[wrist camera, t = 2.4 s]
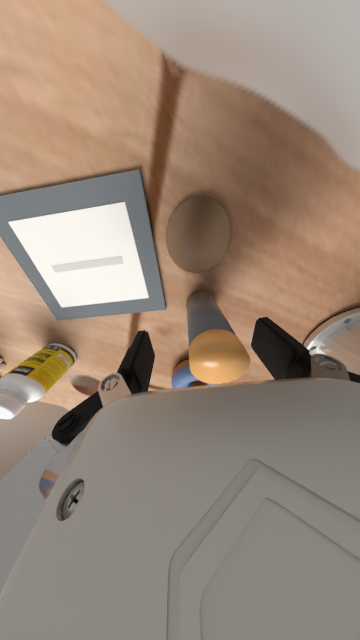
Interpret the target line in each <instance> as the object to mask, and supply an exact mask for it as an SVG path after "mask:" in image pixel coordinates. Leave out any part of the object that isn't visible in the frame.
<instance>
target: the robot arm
mask: <svg viewBox="0 0 360 640" xmlns="http://www.w3.org/2000/svg"><path fill="white" fill-rule="evenodd" d="M251 346H252V349H253V350H254V351H255V353H256V354H257V355H258V357H259V358H260V360H261V361H262V362H263V364H264V365H265V366H266V368H267V369H268V371H269V372H270V373H271V375H272V376H273V377H274V379H275V380H266V381H254V382H242V383H230V384H219V385H207V386H196V387H185V388H175V389H165V390H156V391H148V387H149V383H150V378H151V373H152V368H153V363H154V358H155V355H154V351H153V348H152V344H151V341H150V338H149V334H148V332H146V331H145V330H144V331H138V332H137V335H136V337H135V339H134V341H133V343H132V345H131V347H129V349H128V351H127V353H126V355H125V357H124V359H123V361H122V363H121V365H120V367H119V369H118V371H117V373H112V374H110V375H108V376H106V377H105V378H104V379H103V380H102V381H101V382H100V384H99V386H98V391H97V392H96V393H94V394H93V395H92V396H90V397H89V398H87V399H86V400H85V401H83V402H82V403H80V404H79V405H77V406H76V407H75V408H73V409H72V410H70V411H69V412H68V413H67V414H65V415H64V416H63V417H62V418H61V419H60V420H59V421H58V422H57V423H56V425H55V427H54V429H53V431H52V435H51V436H50V437H49V438H46V437H45V438H44V439H43V440H42V441H41V442H40V443H39V444H38V445H37V446H36V447H35V448H34V449H33V450H32V451H31V452H30V453H29V454H28V455H27V456H26V457H25V458H24V459H23V460H21V461H20V463H18V464H17V465H16V466H15V467H14V468H13V469H12V470H11V471H10V472H9V473H8V474H7V475H6V476H5V477H4V478H3V479H2V480H1V481H0V640H360V308H356V309H352V310H349V311H346V312H344V313H341V314H339V315H337V316H335V317H333V318H331V319H329V320H328V321H326V322H324V323H323V324H322V325H320V326H319V327H318V328H316V329H315V330H314V331H313V332H312V333H311V334H310V336H309V337H308V338H307V339H306V341H305V343H304V345H302V344H301V343H300V342H298V341H297V340H296V339H294V338H293V337H292V336H291V335H289V334H288V333H287V332H286V331H284V330H283V329H282V328H280V327H279V326H278V325H277V324H275V323H274V322H273V321H272V320H270V319H269V318H268V317H263V318H259V319H258V320H257V321H256V324H255V329H254V334H253V338H252V343H251Z"/></svg>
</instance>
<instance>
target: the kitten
mask: <svg viewBox="0 0 360 640" xmlns="http://www.w3.org/2000/svg"><path fill="white" fill-rule="evenodd" d="M2 361H3V359H2V358H0V363H1V362H2ZM5 366H6V365H5V364H4V363H1V364H0V371H1V370H2V369H4V367H5Z"/></svg>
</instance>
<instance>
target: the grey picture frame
mask: <svg viewBox="0 0 360 640" xmlns="http://www.w3.org/2000/svg"><path fill="white" fill-rule="evenodd" d="M0 237H1V238H2V240H3V241H4V242H5V244H6V245H7V247H8V248H9V250H10V251H11V253H12V254H13V256H14V257H15V259H16V260H17V262H18V263H19V264H20V266H21V267H22V269H23V270H24V272H25V273H26V275H27V276H28V278H29V279H30V281H31V282H32V284H33V285H34V287H35V288H36V289H37V291H38V292H39V294H40V295H41V297H42V298H43V300H44V301H45V303H46V304H47V306H48V307H49V309H50V310H51V312H52V313H53V314H54V316H55V317H56V319H57V320H67V319H77V318H87V317H96V316H106V315H116V314H126V313H136V312H146V311H156V310H165V309H166V304H165V298H164V293H163V288H162V282H161V277H160V272H159V266H158V261H157V256H156V250H155V245H154V240H153V234H152V229H151V224H150V219H149V213H148V208H147V203H146V197H145V192H144V187H143V181H142V176H141V172H140V170H133V171H128V172H123V173H118V174H112V175H107V176H102V177H97V178H91V179H86V180H81V181H76V182H70V183H65V184H60V185H55V186H49V187H44V188H39V189H34V190H28V191H23V192H18V193H13V194H7V195H2V196H0Z"/></svg>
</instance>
